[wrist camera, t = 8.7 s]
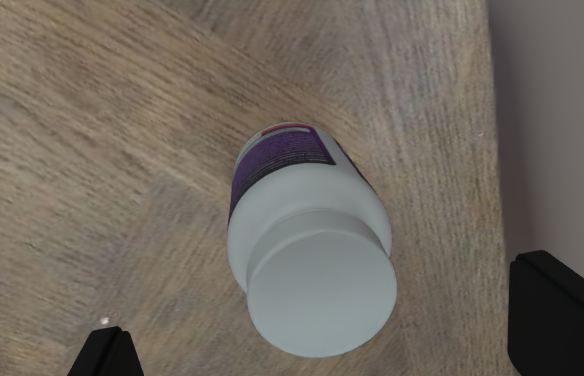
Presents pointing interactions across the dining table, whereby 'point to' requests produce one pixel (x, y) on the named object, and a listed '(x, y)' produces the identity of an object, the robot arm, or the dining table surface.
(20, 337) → the dining table surface
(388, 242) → the pill bottle
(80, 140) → the dining table surface
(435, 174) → the dining table surface
